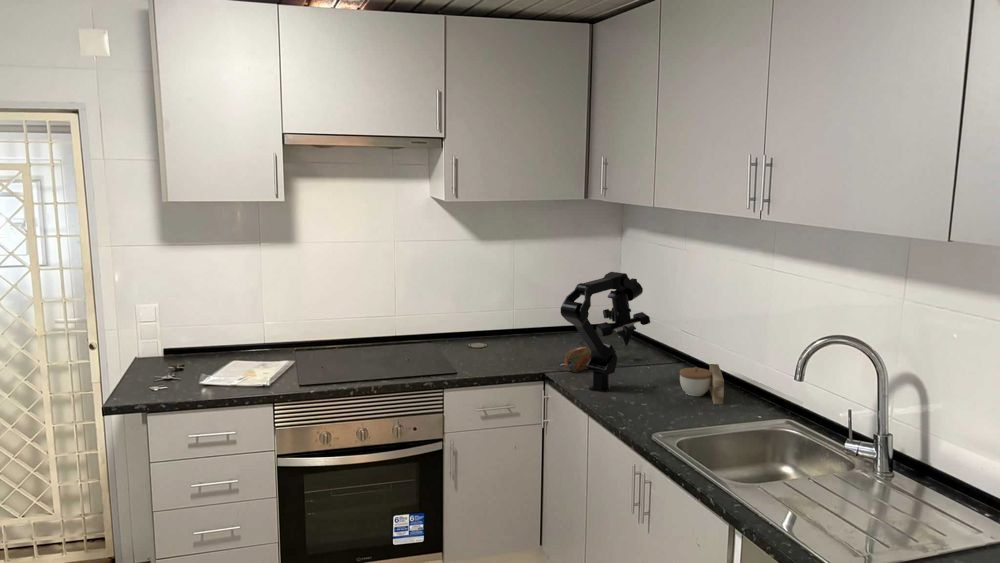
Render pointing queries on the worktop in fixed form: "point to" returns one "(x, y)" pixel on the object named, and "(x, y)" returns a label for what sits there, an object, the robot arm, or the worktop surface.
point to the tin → (577, 359)
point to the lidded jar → (695, 381)
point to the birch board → (716, 384)
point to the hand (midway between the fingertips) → (626, 345)
